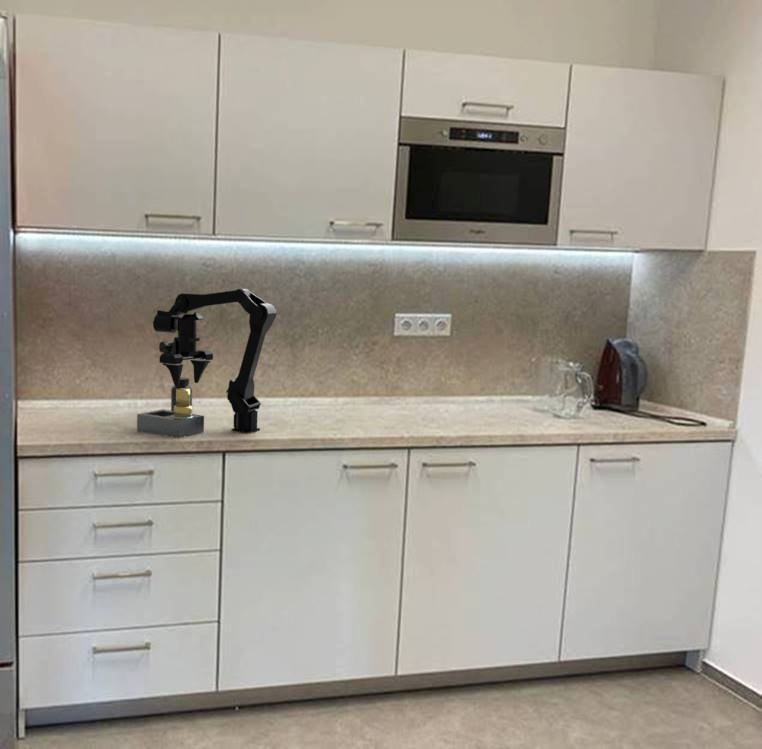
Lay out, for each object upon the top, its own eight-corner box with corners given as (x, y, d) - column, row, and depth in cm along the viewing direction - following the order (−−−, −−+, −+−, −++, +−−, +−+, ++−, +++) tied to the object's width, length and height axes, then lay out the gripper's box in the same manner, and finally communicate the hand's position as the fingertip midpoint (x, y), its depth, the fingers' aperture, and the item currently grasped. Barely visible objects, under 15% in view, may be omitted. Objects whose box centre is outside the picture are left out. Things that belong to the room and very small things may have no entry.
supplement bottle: (183, 411, 290) (183, 376, 288) (196, 414, 286) (197, 378, 284) (166, 414, 285) (166, 377, 283) (179, 417, 280) (180, 380, 279)
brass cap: (195, 415, 256) (195, 389, 255) (183, 418, 251) (184, 391, 250) (181, 413, 258) (182, 387, 257) (169, 416, 253) (170, 389, 252)
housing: (203, 432, 258) (204, 415, 258) (179, 438, 249) (179, 420, 248) (162, 425, 266) (162, 408, 265) (137, 430, 256) (137, 413, 255)
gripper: (186, 330, 277) (186, 378, 279) (145, 333, 261) (145, 384, 263) (214, 333, 272) (213, 382, 274) (174, 336, 256) (173, 388, 258)
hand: (186, 384), depth 267 cm, fingers open, 9 cm apart
